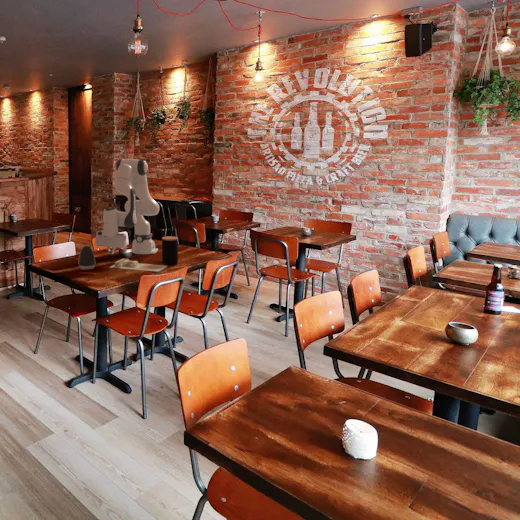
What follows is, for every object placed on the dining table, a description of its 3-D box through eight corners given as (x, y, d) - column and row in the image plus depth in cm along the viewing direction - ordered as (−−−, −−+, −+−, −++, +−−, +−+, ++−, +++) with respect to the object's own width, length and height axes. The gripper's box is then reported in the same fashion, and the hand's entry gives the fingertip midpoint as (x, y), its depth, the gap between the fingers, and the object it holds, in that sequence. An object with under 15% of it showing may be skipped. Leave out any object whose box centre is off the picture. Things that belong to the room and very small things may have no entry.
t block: (114, 267, 295) (114, 262, 294) (123, 262, 307) (123, 258, 306) (132, 268, 293) (132, 263, 293) (140, 264, 305) (140, 259, 304)
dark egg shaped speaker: (98, 268, 295) (98, 244, 292) (91, 272, 285) (90, 247, 282) (83, 267, 296) (82, 243, 293) (75, 271, 286) (74, 246, 283)
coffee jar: (172, 261, 322) (172, 235, 318) (181, 264, 314) (181, 238, 310) (159, 263, 314) (158, 237, 310) (167, 266, 307) (167, 239, 303)
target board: (120, 263, 309) (120, 261, 309) (167, 267, 304) (167, 265, 304) (109, 269, 294) (109, 267, 294) (158, 273, 289) (158, 271, 289)
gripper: (128, 232, 298) (128, 254, 301) (98, 230, 301) (99, 251, 304) (123, 234, 292) (124, 255, 295) (93, 232, 295) (94, 253, 298)
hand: (111, 253), depth 299 cm, fingers closed
